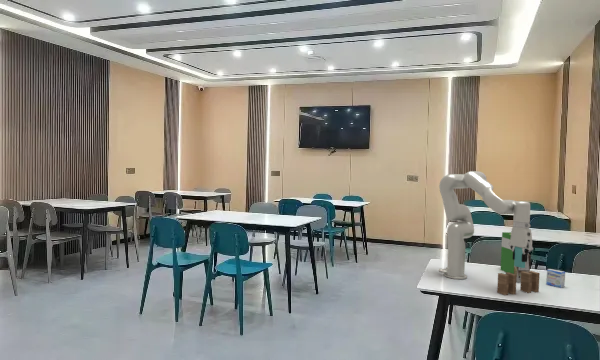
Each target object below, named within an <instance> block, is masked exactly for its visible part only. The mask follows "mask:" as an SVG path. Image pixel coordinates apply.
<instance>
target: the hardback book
mask: <svg viewBox="0 0 600 360" xmlns="http://www.w3.org/2000/svg"><path fill="white" fill-rule="evenodd" d="M510 238H511V232H506V231H504V232H502V233H501V253H500V271H502V272H504V273H505V274H506V273H508V272H509V273H513V274H514V260H513V252H512V249H511V248H510V246H509V245H508V243H509V242H510Z"/></svg>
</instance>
